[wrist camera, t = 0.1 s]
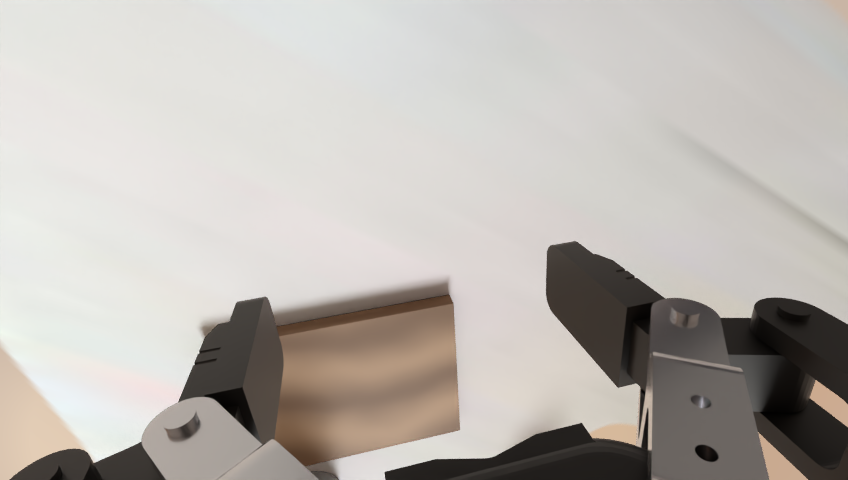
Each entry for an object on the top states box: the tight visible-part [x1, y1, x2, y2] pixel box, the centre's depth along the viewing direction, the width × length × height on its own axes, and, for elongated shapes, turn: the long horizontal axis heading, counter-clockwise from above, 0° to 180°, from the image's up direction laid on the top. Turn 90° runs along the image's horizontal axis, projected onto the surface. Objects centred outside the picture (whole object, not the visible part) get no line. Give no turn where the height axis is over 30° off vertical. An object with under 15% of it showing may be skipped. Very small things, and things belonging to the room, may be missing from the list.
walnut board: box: [274, 295, 460, 466], centre depth 36 cm, size 14×18×1 cm
